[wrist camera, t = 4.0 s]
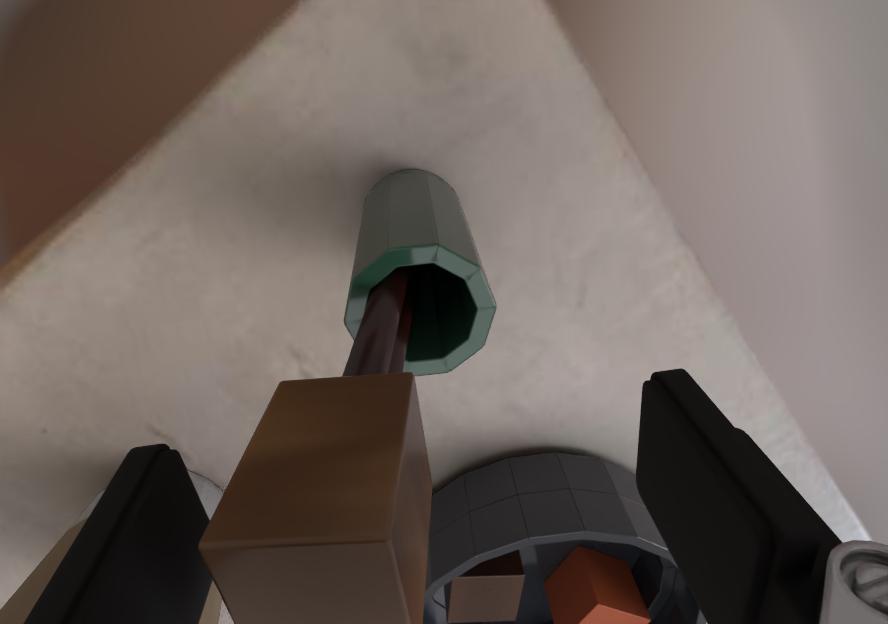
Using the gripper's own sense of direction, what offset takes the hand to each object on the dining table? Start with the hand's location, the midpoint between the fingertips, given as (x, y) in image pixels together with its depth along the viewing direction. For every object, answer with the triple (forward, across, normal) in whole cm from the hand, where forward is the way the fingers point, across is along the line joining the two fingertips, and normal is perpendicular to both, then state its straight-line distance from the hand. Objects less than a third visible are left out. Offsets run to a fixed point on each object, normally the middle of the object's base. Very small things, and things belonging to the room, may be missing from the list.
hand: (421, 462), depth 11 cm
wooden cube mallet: (+14, 0, 0) cm, 14 cm away
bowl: (+15, -5, +23) cm, 28 cm away
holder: (+15, 0, 0) cm, 15 cm away
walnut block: (+14, -1, +20) cm, 25 cm away
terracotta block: (+14, -8, +25) cm, 30 cm away
